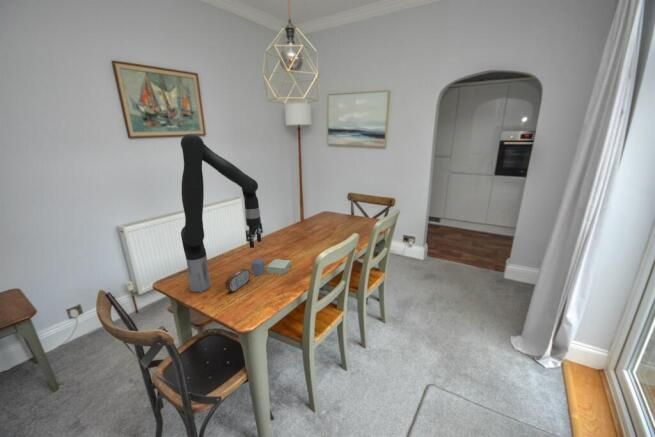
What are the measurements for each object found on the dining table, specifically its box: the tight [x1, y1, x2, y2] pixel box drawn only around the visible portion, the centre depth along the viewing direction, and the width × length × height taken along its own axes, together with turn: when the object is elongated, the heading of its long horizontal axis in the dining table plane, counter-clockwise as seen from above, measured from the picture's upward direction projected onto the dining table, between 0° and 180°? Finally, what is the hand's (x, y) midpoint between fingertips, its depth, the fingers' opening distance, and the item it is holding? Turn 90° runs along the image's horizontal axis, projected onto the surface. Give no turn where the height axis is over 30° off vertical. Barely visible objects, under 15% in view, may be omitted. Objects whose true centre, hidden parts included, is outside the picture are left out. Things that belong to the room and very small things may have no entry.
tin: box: [224, 268, 251, 292], centre depth 142 cm, size 15×3×8 cm, turn 153°
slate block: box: [251, 258, 266, 276], centre depth 157 cm, size 5×5×7 cm
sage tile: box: [266, 258, 292, 275], centre depth 161 cm, size 10×10×4 cm
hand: (255, 244), depth 153 cm, fingers open, 8 cm apart
